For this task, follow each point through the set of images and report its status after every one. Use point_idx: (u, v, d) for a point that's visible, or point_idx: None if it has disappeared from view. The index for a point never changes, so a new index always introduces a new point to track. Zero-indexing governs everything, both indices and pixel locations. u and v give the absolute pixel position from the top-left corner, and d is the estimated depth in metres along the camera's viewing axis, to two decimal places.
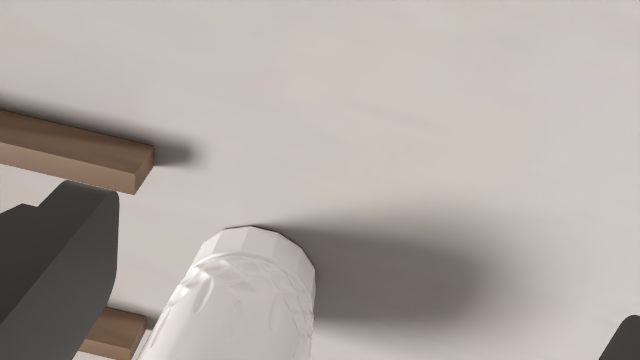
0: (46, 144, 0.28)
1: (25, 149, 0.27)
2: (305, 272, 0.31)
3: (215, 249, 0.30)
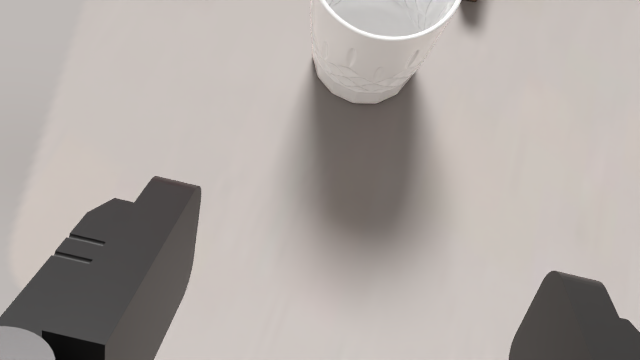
0: None
1: None
2: (390, 92, 0.38)
3: None
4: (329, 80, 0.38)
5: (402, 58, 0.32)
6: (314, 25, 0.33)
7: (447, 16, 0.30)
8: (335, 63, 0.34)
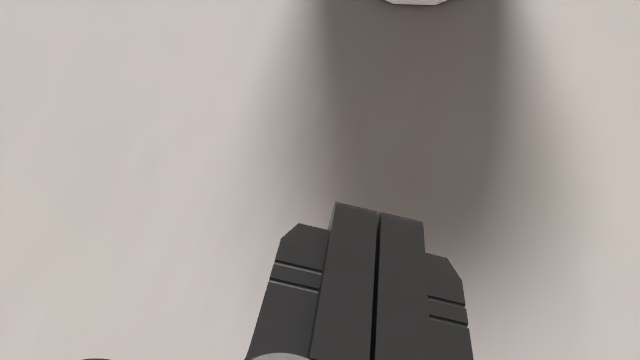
0: None
1: None
2: None
3: None
4: None
5: None
6: None
7: None
8: None
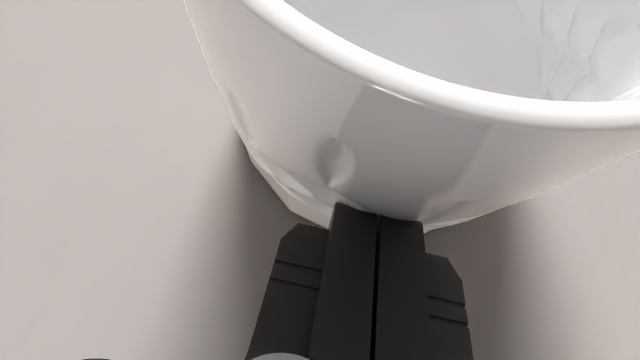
0: None
1: None
2: None
3: None
4: (278, 185, 0.13)
5: (568, 177, 0.07)
6: None
7: None
8: (280, 165, 0.09)
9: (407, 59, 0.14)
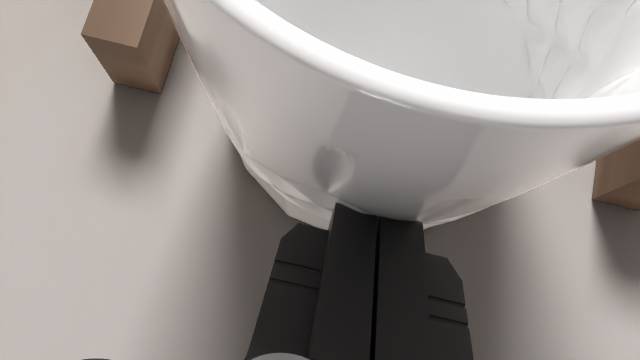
0: None
1: None
2: None
3: None
4: (274, 192, 0.13)
5: (568, 171, 0.07)
6: None
7: None
8: (277, 173, 0.09)
9: (396, 57, 0.14)
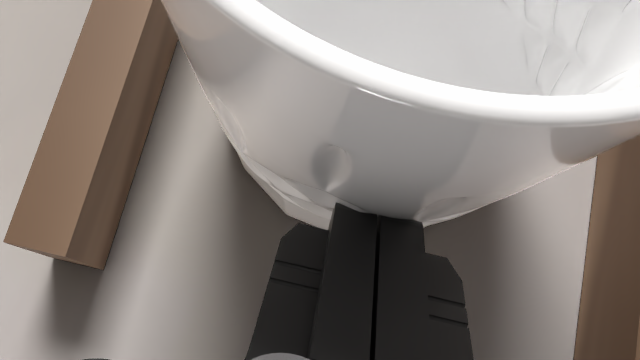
0: None
1: None
2: None
3: None
4: (272, 191, 0.13)
5: (566, 167, 0.07)
6: (178, 38, 0.08)
7: None
8: (275, 171, 0.09)
9: (393, 56, 0.14)
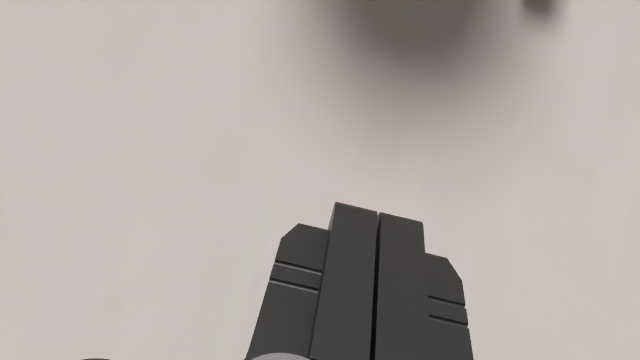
0: None
1: None
2: None
3: None
4: None
5: None
6: None
7: None
8: None
9: None
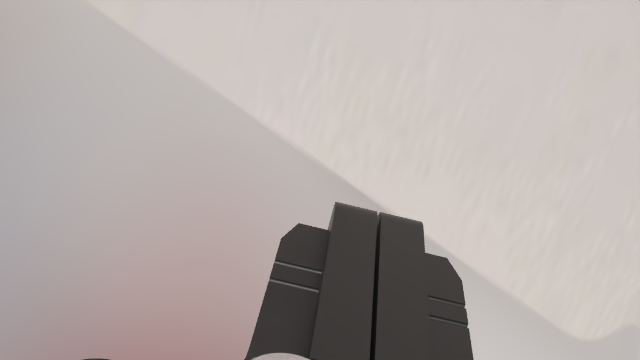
0: None
1: None
2: None
3: None
4: None
5: None
6: None
7: None
8: None
9: None
